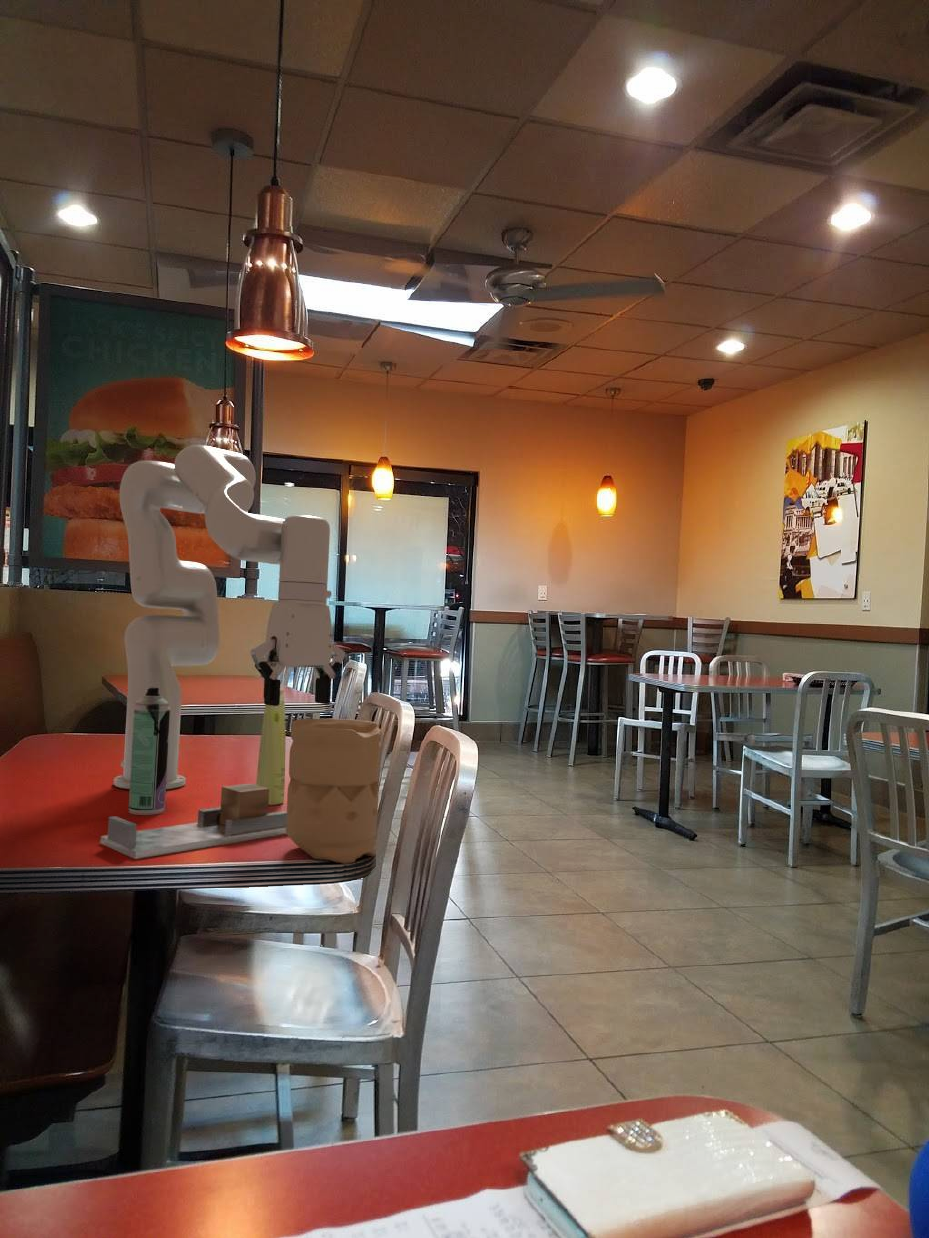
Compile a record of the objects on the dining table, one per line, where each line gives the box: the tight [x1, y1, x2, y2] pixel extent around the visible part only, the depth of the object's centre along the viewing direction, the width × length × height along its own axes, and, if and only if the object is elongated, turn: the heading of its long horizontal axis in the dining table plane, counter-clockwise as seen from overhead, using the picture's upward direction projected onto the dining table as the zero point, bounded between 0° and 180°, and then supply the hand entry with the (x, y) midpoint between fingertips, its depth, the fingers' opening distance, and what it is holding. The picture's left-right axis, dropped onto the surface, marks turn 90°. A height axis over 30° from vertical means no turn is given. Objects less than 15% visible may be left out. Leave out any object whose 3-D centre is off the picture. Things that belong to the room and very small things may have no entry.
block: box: [220, 783, 269, 825], centre depth 132 cm, size 5×5×6 cm
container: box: [286, 717, 383, 865], centre depth 122 cm, size 13×13×18 cm
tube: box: [255, 689, 287, 806], centre depth 153 cm, size 6×5×20 cm
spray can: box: [128, 687, 170, 816], centre depth 142 cm, size 6×6×20 cm
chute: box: [100, 806, 287, 860], centre depth 127 cm, size 10×25×4 cm, turn 137°
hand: (297, 704), depth 138 cm, fingers open, 9 cm apart
